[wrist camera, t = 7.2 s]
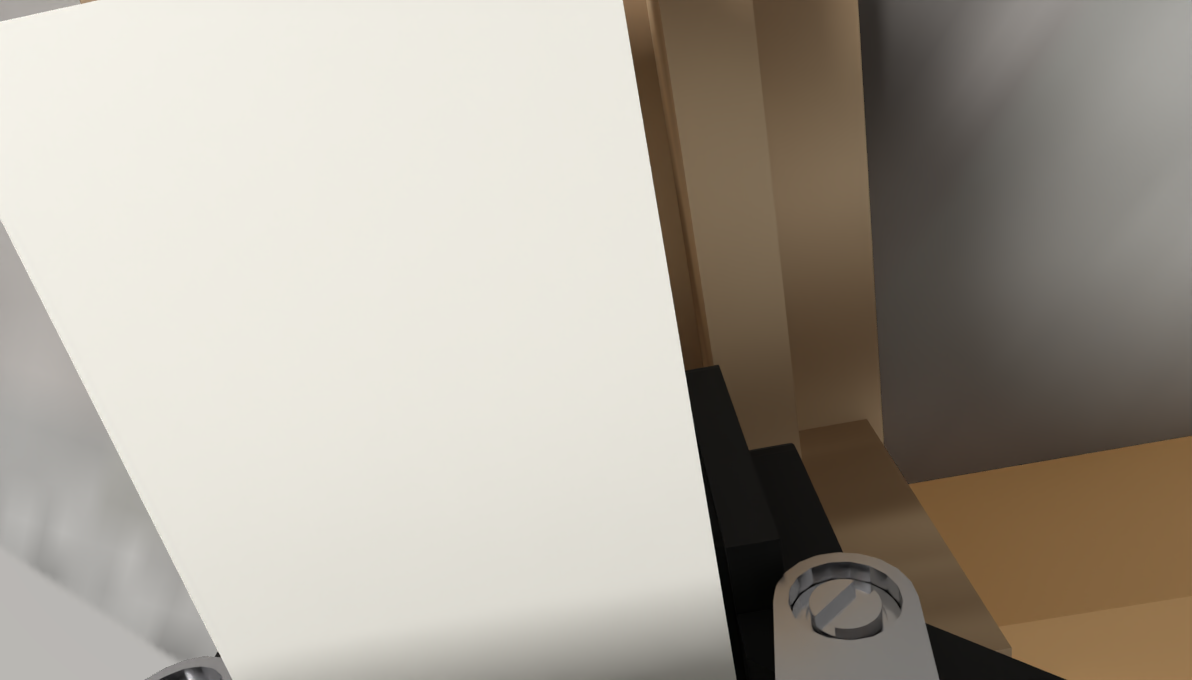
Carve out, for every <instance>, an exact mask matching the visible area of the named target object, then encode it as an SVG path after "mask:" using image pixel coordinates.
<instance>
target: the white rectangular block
mask: <svg viewBox="0 0 1192 680" xmlns="http://www.w3.org/2000/svg"><path fill="white" fill-rule="evenodd" d="M0 219H1V221H2V223H3V225H4V227H5V229H6V231H7V233H8V235H9V237H10V239H11V241H12V243H13V245H14V247H15V249H16V251H17V253H18V255H19V257H20V259H21V261H22V263H23V265H24V267H25V269H26V271H27V273H28V275H29V277H30V279H31V281H32V283H33V285H34V287H35V289H36V291H37V293H38V295H39V297H40V299H41V301H42V303H43V305H44V307H45V308H46V310H47V312H48V314H49V316H50V318H51V320H52V322H53V324H54V326H55V328H56V330H57V332H58V334H59V336H60V338H61V340H62V342H63V344H64V346H65V348H66V350H67V352H68V354H69V356H70V358H71V360H72V362H73V364H74V366H75V368H76V370H77V372H78V374H79V376H80V378H81V380H82V382H83V384H84V386H85V388H86V390H87V392H88V394H89V396H90V398H91V400H92V402H93V404H94V406H95V408H96V410H97V412H98V414H99V416H100V418H101V420H102V422H103V424H104V426H105V428H106V430H107V432H108V434H109V436H110V438H111V440H112V442H113V444H114V446H115V448H116V450H117V452H118V454H119V455H120V457H121V459H122V461H123V463H124V465H125V467H126V469H127V471H128V473H129V475H130V477H131V479H132V481H133V483H134V485H135V487H136V489H137V491H138V493H139V495H140V497H141V499H142V501H143V503H144V505H145V507H146V509H147V511H148V513H149V515H150V517H151V519H152V521H153V523H154V525H155V527H156V529H157V531H158V533H159V535H160V537H161V539H162V541H163V543H164V545H165V547H166V549H167V551H168V553H169V555H170V557H171V559H172V561H173V563H174V565H175V567H176V569H177V571H178V573H179V575H180V577H181V579H182V581H183V583H184V585H185V587H186V589H187V591H188V593H189V595H190V597H191V599H192V601H193V602H194V604H195V606H196V608H197V610H198V612H199V614H200V616H201V618H202V620H203V622H204V624H205V626H206V628H207V630H208V632H209V634H210V636H211V638H212V640H213V642H214V644H215V646H216V648H217V650H218V652H219V654H220V656H221V658H222V660H223V662H224V664H225V666H226V668H227V670H228V672H229V674H230V676H231V678H232V680H737V679H736V674H735V668H734V662H733V656H732V650H731V644H730V638H729V632H728V626H727V620H726V614H725V608H724V602H723V596H722V590H721V584H720V578H719V572H718V566H717V560H716V554H715V548H714V542H713V536H712V530H711V524H710V518H709V513H708V507H707V501H706V495H705V489H704V483H703V477H702V471H701V465H700V459H699V453H698V447H697V441H696V435H695V429H694V423H693V417H692V411H691V405H690V399H689V393H688V387H687V381H686V375H685V369H684V363H683V357H682V352H681V346H680V340H679V334H678V328H677V322H676V316H675V310H674V304H673V298H672V292H671V286H670V280H669V274H668V268H667V262H666V256H665V250H664V244H663V238H662V232H661V226H660V220H659V214H658V208H657V202H656V196H655V191H654V185H653V179H652V173H651V167H650V161H649V155H648V149H647V143H646V137H645V131H644V125H643V119H642V113H641V107H640V101H639V95H638V89H637V83H636V77H635V71H634V65H633V59H632V53H631V47H630V41H629V35H628V30H627V24H626V18H625V12H624V6H623V0H97V1H92V2H88V3H83V4H79V5H74V6H70V7H65V8H61V9H56V10H51V11H47V12H42V13H38V14H33V15H29V16H24V17H19V18H15V19H10V20H6V21H1V22H0Z"/></svg>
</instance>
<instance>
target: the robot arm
mask: <svg viewBox="0 0 1192 680" xmlns="http://www.w3.org/2000/svg"><path fill="white" fill-rule="evenodd" d="M685 375H686V381H687V387H688V393H689V399H690V405H691V411H692V417H693V423H694V429H695V435H696V441H697V447H698V453H699V459H700V465H701V471H702V477H703V483H704V489H705V495H706V501H707V507H708V513H709V518H710V524H711V530H712V536H713V542H714V548H715V554H716V560H717V566H718V572H719V578H720V584H721V590H722V596H723V602H724V608H725V614H726V620H727V626H728V632H729V638H730V644H731V650H732V656H733V662H734V668H735V674H736V679H737V680H1066V679H1064V678H1061V677H1059V676H1056V675H1054V674H1051V673H1049V672H1046V671H1044V670H1041V669H1039V668H1036V667H1034V666H1031V665H1029V664H1026V663H1024V662H1021V661H1019V660H1016V659H1014V658H1012V657H1009V656H1007V655H1004V654H1002V653H999V652H997V651H994V650H992V649H989V648H987V647H984V646H982V645H979V644H977V643H974V642H972V641H969V640H967V639H964V638H962V637H959V636H957V635H954V634H952V633H949V632H947V631H945V630H942V629H940V628H937V627H935V626H932V625H930V624H927V623H925V620H924V616H923V612H922V608H921V604H920V600H919V596H918V594H917V592H916V590H915V588H914V586H913V584H912V582H911V581H910V580H909V579H908V578H907V577H906V576H905V575H904V574H903V573H902V572H901V571H900V570H899V569H898V568H896V567H894V566H892V565H890V564H888V563H886V562H885V561H883V560H881V559H878V558H874V557H870V556H867V555H863V554H859V553H843V551H842V548H841V546H840V544H839V542H838V540H837V537H836V535H835V533H834V531H833V528H832V526H831V524H830V522H829V520H828V517H827V515H826V513H825V511H824V509H823V506H822V504H821V502H820V500H819V497H818V495H817V493H816V491H815V489H814V486H813V484H812V482H811V480H810V478H809V475H808V473H807V471H806V469H805V466H804V464H803V462H802V460H801V458H800V455H799V453H798V451H797V449H796V447H795V445H794V444H793V443H787V444H781V445H775V446H770V447H764V448H758V449H752V450H749V449H748V446H747V443H746V440H745V438H744V435H743V432H742V429H741V426H740V423H739V420H738V418H737V415H736V412H735V409H734V406H733V403H732V400H731V398H730V395H729V392H728V389H727V386H726V383H725V381H724V378H723V375H722V372H721V369H720V366H719V365H714V366H708V367H702V368H697V369H691V370H686V371H685ZM145 680H232V678H231V676H230V674H229V672H228V670H227V668H226V666H225V664H224V662H223V660H222V658H221V656H220V654H219V652H217V654H216V656H215V657H208V656H203V657H198V658H193V659H188V660H184V661H182V662H179V663H177V664H174V665H171V666H169V667H166V668H164V669H163V670H161V671H159V672H158V673H156V674H154V675H152V676H151V677H149V678H147V679H145Z"/></svg>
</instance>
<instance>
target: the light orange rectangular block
mask: <svg viewBox="0 0 1192 680" xmlns="http://www.w3.org/2000/svg"><path fill="white" fill-rule="evenodd" d="M908 485H909V486H910V488H911V489H912V491H913V493H914V494H915V496H916V497H917V499H918V500H919V502H920V504H921V505H922V507H923V508H924V510H925V511H926V513H927V515H928V516H929V518H930V519H931V521H932V523H933V524H934V526H935V527H936V529H937V530H938V532H939V534H940V535H941V537H942V538H943V540H944V542H945V543H946V545H947V546H948V548H949V549H950V551H951V553H952V554H953V556H954V557H955V559H956V560H957V562H958V564H959V565H960V567H961V568H962V570H963V572H964V573H965V575H966V576H967V578H968V579H969V581H970V583H971V584H972V586H973V587H974V589H975V591H976V592H977V594H978V595H979V597H980V598H981V600H982V602H983V603H984V605H985V606H986V608H987V610H988V611H989V613H990V614H991V616H992V617H993V619H994V621H995V622H996V624H997V625H998V627H999V628H1000V630H1001V632H1002V633H1003V635H1004V636H1005V638H1006V640H1007V641H1008V643H1009V644H1010V646H1011V647H1012V658H1014V659H1016V660H1019V661H1021V662H1024V663H1026V664H1029V665H1031V666H1034V667H1036V668H1039V669H1041V670H1044V671H1046V672H1049V673H1051V674H1054V675H1056V676H1059V677H1061V678H1064V679H1066V680H1192V436H1188V437H1182V438H1176V439H1170V440H1164V441H1158V442H1153V443H1147V444H1141V445H1135V446H1129V447H1123V448H1117V449H1112V450H1106V451H1100V452H1094V453H1088V454H1082V455H1076V456H1071V457H1065V458H1059V459H1053V460H1047V461H1041V462H1036V463H1030V464H1024V465H1018V466H1012V467H1006V468H1000V469H995V470H989V471H983V472H977V473H971V474H965V475H959V476H954V477H948V478H942V479H936V480H930V481H924V482H918V483H913V484H908Z"/></svg>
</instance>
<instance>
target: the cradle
mask: <svg viewBox="0 0 1192 680" xmlns="http://www.w3.org/2000/svg"><path fill="white" fill-rule="evenodd" d="M92 1H97V0H80V2H81V4H83V3H88V2H92ZM623 6H624V12H625V18H626V24H627V30H628V35H629V41H630V47H631V53H632V59H633V65H634V71H635V77H636V83H637V89H638V95H639V101H640V107H641V113H642V119H643V125H644V131H645V137H646V143H647V149H648V155H649V161H650V167H651V173H652V179H653V185H654V191H655V196H656V202H657V208H658V214H659V220H660V226H661V232H662V238H663V244H664V250H665V256H666V262H667V268H668V274H669V280H670V286H671V292H672V298H673V304H674V310H675V316H676V322H677V328H678V334H679V340H680V346H681V352H682V357H683V363H684V369H685V371H686V370H691V369H697V368H702V367H708V366H714V365H719V366H720V369H721V372H722V375H723V378H724V381H725V383H726V386H727V389H728V392H729V395H730V398H731V400H732V403H733V406H734V409H735V412H736V415H737V418H738V420H739V423H740V426H741V429H742V432H743V435H744V438H745V440H746V443H747V446H748V449H749V450H752V449H758V448H764V447H770V446H775V445H781V444H787V443H793V444H794V445H795V447H796V449H797V451H798V453H799V455H800V458H801V460H802V462H803V464H804V466H805V469H806V471H807V473H808V475H809V478H810V480H811V482H812V484H813V486H814V489H815V491H816V493H817V495H818V497H819V500H820V502H821V504H822V506H823V509H824V511H825V513H826V515H827V517H828V520H829V522H830V524H831V526H832V528H833V531H834V533H835V535H836V537H837V540H838V542H839V544H840V546H841V548H842V551H843V553H859V554H863V555H867V556H870V557H874V558H878V559H881V560H883V561H885V562H886V563H888V564H890V565H892V566H894V567H896V568H898V569H899V570H900V571H901V572H902V573H903V574H904V575H905V576H906V577H907V578H908V579H909V580H910V581H911V582H912V584H913V586H914V588H915V590H916V592H917V594H918V596H919V600H920V604H921V608H922V612H923V616H924V620H925V623H927V624H930V625H932V626H935V627H937V628H940V629H942V630H945V631H947V632H949V633H952V634H954V635H957V636H959V637H962V638H964V639H967V640H969V641H972V642H974V643H977V644H979V645H982V646H984V647H987V648H989V649H992V650H994V651H997V652H999V653H1002V654H1004V655H1007V656H1009V657H1012V647H1011V646H1010V644H1009V643H1008V641H1007V640H1006V638H1005V636H1004V635H1003V633H1002V632H1001V630H1000V628H999V627H998V625H997V624H996V622H995V621H994V619H993V617H992V616H991V614H990V613H989V611H988V610H987V608H986V606H985V605H984V603H983V602H982V600H981V598H980V597H979V595H978V594H977V592H976V591H975V589H974V587H973V586H972V584H971V583H970V581H969V579H968V578H967V576H966V575H965V573H964V572H963V570H962V568H961V567H960V565H959V564H958V562H957V560H956V559H955V557H954V556H953V554H952V553H951V551H950V549H949V548H948V546H947V545H946V543H945V542H944V540H943V538H942V537H941V535H940V534H939V532H938V530H937V529H936V527H935V526H934V524H933V523H932V521H931V519H930V518H929V516H928V515H927V513H926V511H925V510H924V508H923V507H922V505H921V504H920V502H919V500H918V499H917V497H916V496H915V494H914V493H913V491H912V489H911V488H910V486H909V485H908V483H907V481H906V480H905V478H904V477H903V475H902V474H901V472H900V470H899V469H898V467H897V466H896V464H895V462H894V461H893V459H892V458H891V456H890V455H889V453H888V451H887V450H886V448H885V447H884V437H883V420H882V403H881V386H880V369H879V352H878V335H877V318H876V301H875V284H874V266H873V249H872V232H871V215H870V198H869V181H868V164H867V147H866V130H865V113H864V96H863V79H862V61H861V44H860V27H859V10H858V0H623Z"/></svg>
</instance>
